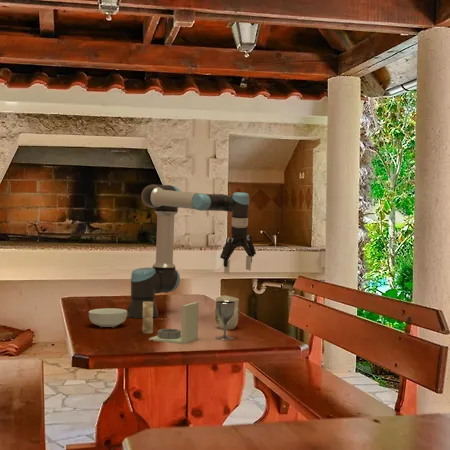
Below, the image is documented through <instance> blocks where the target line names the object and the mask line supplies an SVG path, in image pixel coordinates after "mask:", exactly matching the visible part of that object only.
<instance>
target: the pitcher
mask: <svg viewBox="0 0 450 450" xmlns="http://www.w3.org/2000/svg"><path fill="white" fill-rule="evenodd" d="M216 301H234V302H235V311H234V315H233V317H232V318H231V319H230V320H229V321H228V323H227V326H226V331H227V330H234V329H235V328H236V327H237V326H238V322H239V319H240V307H239V301H240V299H239V297H238V298H237V297H234V296H229V295H227V294H226V295H225V294H223V295H221V296H218V297H216V298H215V302H216ZM214 319H215V322H216V325H217V327H218V328H219V329H220V330H224V325H223V322H222V321H221V320H220V318H219V317H218V316H217V312H216V308H214Z"/></svg>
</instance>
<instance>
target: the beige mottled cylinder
mask: <svg viewBox="0 0 450 450" xmlns="http://www.w3.org/2000/svg"><path fill="white" fill-rule="evenodd" d="M141 331H142V334H153V333H154V318H153V302H150V301H146V302H143V318H142V330H141Z"/></svg>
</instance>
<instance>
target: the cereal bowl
mask: <svg viewBox="0 0 450 450" xmlns="http://www.w3.org/2000/svg"><path fill="white" fill-rule="evenodd" d="M127 310H128V309H123V308H114V307H113V308H108V307H107V308H95V309H91V310H89V311H88V319H89V321H90V322H91V323H92V324H94V325H96V326H98V327H99V326H100V328H102V327H112V328H116V326H117V327H118V326H119V325H120V324H123V323H124V322H125V321H126V320H127V317H128V316H127Z"/></svg>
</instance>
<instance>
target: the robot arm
mask: <svg viewBox="0 0 450 450" xmlns="http://www.w3.org/2000/svg"><path fill="white" fill-rule="evenodd" d="M140 197H141V201H142V203H143V204H144V205H145V206H146V207H148V208H152V209H154V213H155V214H156V216H157V219H156V244H155V245H156V246H155V247H156V249H155V263H154V264H153V265H152V267H139V268H135V269H133V270H132V271H131V277H130V302H129V303H128V304H129V305H128V306H127V307H128V308H127V309H126V310H127V317H128V318H132V317H133V318H132V319H143V302H146V301H150V302H153V317H154V318H157V317H159V311H158V307H157V304H156V300H155V297H156V295H155V294H162V293H166V294H167V293H171V292H174V291H175V290H176V289H178V287H179V285H180V282H181V281H180V280H181V277H180V273H179V271H178V270H177V269H176V265H175V264H174V241H175V239H174V236H175V235H174V234H175V216H176V215H177V214H178V211H179V209H180V208H181V209H190V210H196V211H199V212H200V211H203V212H204V211H205V212H206V211H211V212H212V211H213V212H214V211H215V212H220V211H221V212H227V213H228V212H229V213H231V229H230V233H231V237H226V239H225V244H224V247H223V249H222V251H221V254H220V257H219V258H220V259H223V268H224V269H223V273H224V274H226V275H229V274H230V267H231V266H230V265H231V264H230V263H231V259H230V258H231V256H232V254H233V252H234V251H235V250H236V249H237V248H239V247H242V248H243V250H244V252H245V253H246V254H247V255H246V256H245V270H246V271H251V270H252V263H253V257H255V255H256V254H257V253H256V249H255V246H254V242H253V240H252V238H253V237H252V235H249V234H248V232H249V229H248V226H249V209H250V194H249V193H247V192H241V191H239V192H238V191H237V192H234V193H232V195H228V194H224V193H212V194H210V193H202V192H201V193H200V192H191V191H190V192H189V191H181V190H180V188H179V187H178V186H175V185H172V184H149V185H147V186H145V187H144V188H143V190H142V191H141V196H140Z"/></svg>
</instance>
